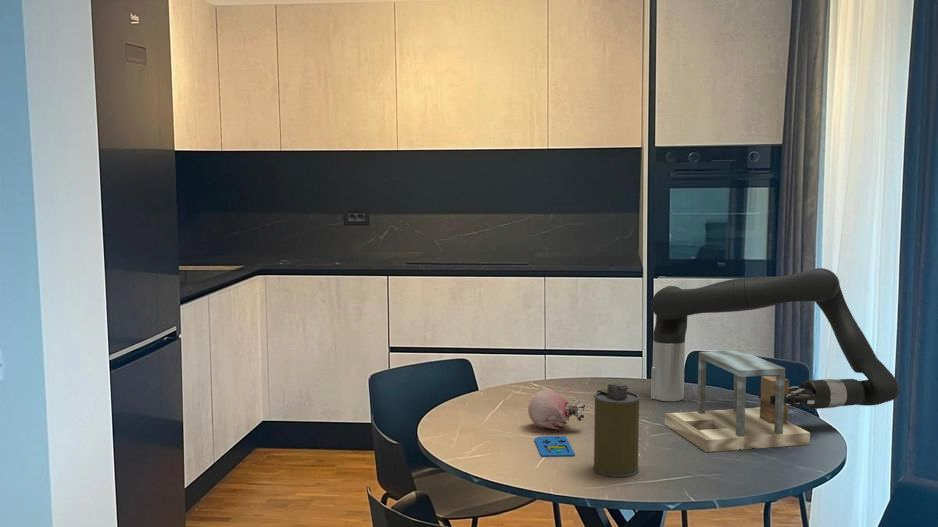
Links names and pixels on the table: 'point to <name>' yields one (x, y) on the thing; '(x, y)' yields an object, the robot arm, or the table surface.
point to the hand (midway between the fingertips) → (765, 397)
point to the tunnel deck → (737, 410)
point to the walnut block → (766, 391)
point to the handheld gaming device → (554, 446)
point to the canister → (616, 431)
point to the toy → (552, 410)
